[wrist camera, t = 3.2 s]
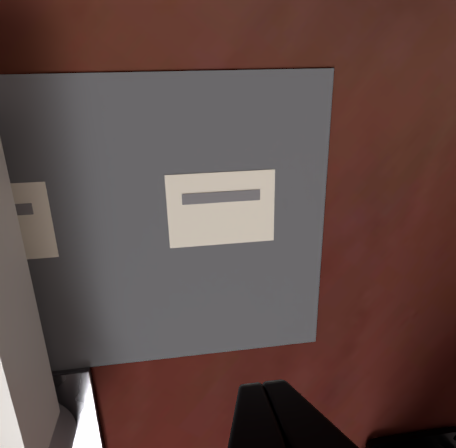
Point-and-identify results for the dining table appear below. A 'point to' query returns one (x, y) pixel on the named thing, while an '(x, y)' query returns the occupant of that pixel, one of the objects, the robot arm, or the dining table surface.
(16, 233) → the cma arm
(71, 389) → the grey flat square plate
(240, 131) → the label mat
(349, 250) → the dining table surface
